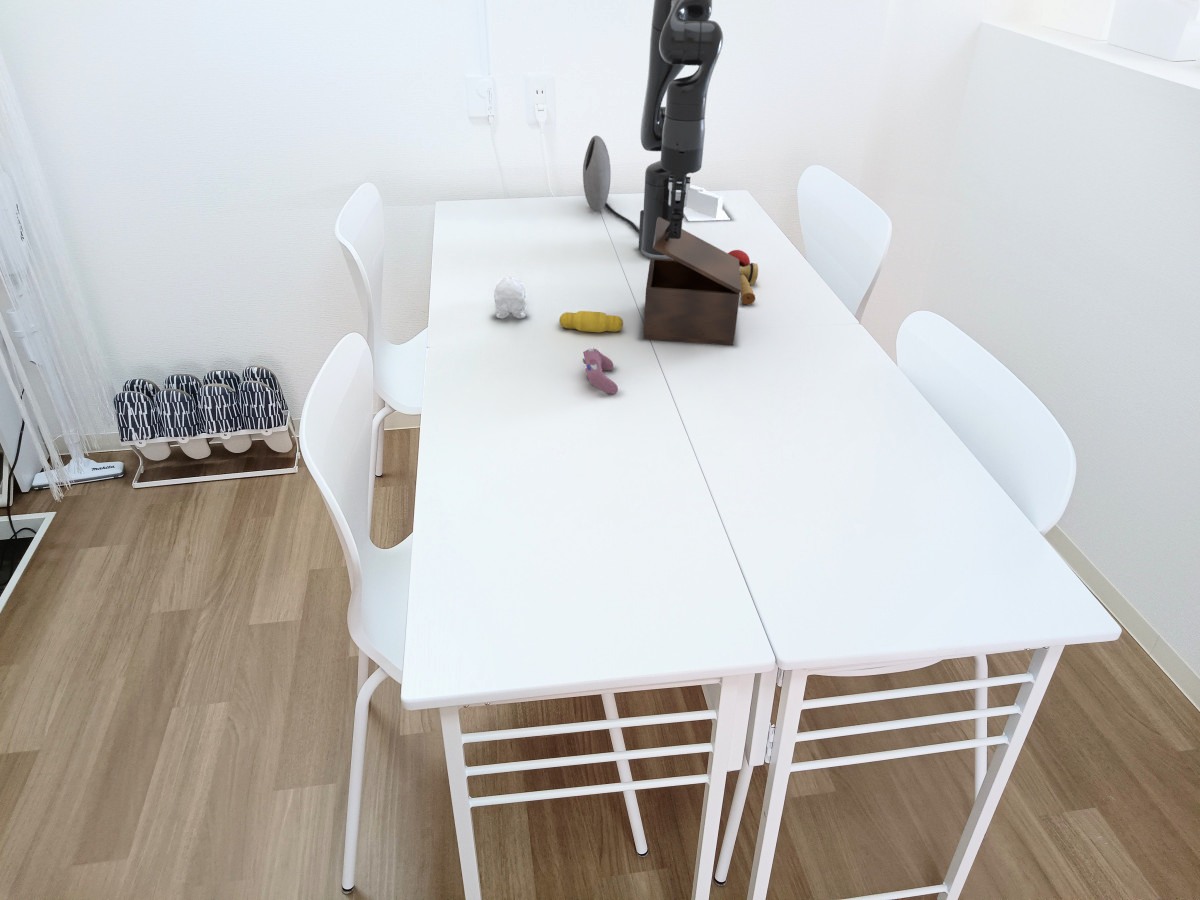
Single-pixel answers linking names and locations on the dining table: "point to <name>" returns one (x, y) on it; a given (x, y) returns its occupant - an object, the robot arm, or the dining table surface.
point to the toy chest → (687, 306)
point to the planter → (596, 174)
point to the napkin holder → (704, 205)
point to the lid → (698, 255)
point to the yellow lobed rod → (591, 321)
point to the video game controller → (599, 370)
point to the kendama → (746, 276)
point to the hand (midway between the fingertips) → (675, 231)
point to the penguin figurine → (510, 298)
